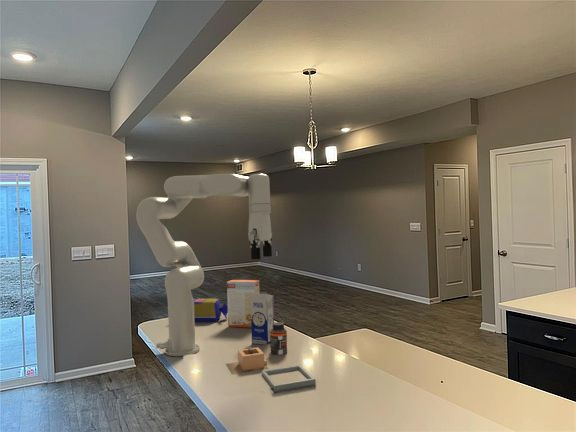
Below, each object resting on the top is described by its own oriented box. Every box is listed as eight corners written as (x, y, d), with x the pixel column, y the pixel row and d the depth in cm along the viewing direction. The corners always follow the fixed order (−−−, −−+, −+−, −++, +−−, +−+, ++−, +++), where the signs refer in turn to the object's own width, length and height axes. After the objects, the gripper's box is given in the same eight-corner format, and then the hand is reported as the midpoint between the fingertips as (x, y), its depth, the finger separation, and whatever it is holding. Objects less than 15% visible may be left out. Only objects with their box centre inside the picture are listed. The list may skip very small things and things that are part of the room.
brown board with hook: (231, 377, 128) (231, 356, 128) (225, 366, 138) (225, 347, 138) (268, 371, 132) (268, 351, 132) (260, 361, 142) (259, 342, 142)
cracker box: (261, 325, 191) (259, 279, 191) (255, 328, 185) (254, 281, 185) (233, 323, 195) (232, 279, 195) (227, 326, 190) (226, 281, 190)
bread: (182, 317, 210) (181, 297, 210) (230, 317, 208) (230, 296, 208) (175, 323, 200) (174, 301, 200) (225, 322, 198) (225, 301, 198)
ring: (243, 370, 131) (242, 356, 131) (238, 363, 138) (238, 350, 138) (269, 366, 134) (268, 352, 134) (263, 359, 141) (262, 346, 141)
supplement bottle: (285, 358, 145) (284, 325, 145) (268, 357, 146) (268, 325, 146) (288, 352, 151) (287, 321, 151) (272, 352, 152) (272, 321, 152)
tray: (274, 393, 116) (274, 386, 116) (262, 377, 128) (261, 370, 128) (315, 385, 120) (315, 379, 120) (300, 371, 132) (299, 364, 132)
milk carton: (251, 344, 162) (249, 293, 162) (259, 339, 168) (257, 290, 169) (267, 345, 160) (266, 293, 160) (274, 340, 166) (273, 290, 166)
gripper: (260, 210, 156) (262, 255, 155) (239, 209, 139) (241, 260, 139) (279, 209, 153) (280, 255, 153) (259, 208, 137) (261, 260, 137)
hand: (261, 257), depth 146 cm, fingers open, 9 cm apart
